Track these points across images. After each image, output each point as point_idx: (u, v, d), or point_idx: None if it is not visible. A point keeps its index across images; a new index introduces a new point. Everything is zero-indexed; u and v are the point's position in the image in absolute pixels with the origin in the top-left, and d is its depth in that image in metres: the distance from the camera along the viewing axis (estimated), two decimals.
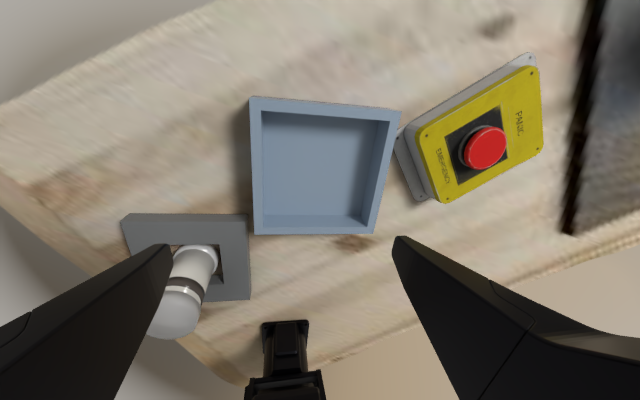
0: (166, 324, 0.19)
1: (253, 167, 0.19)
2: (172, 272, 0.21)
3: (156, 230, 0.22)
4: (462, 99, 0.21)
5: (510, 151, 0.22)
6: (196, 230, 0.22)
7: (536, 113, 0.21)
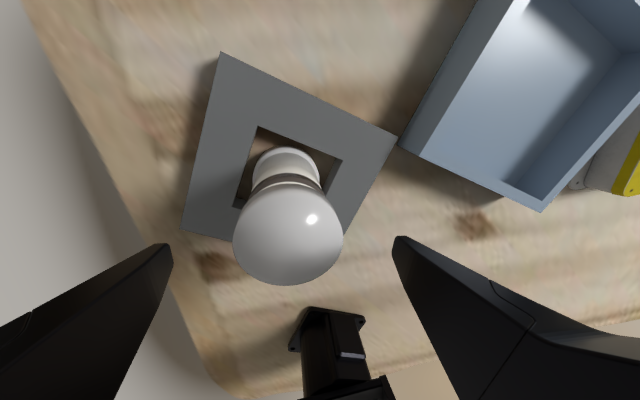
0: (285, 250, 0.09)
1: (495, 35, 0.11)
2: (288, 169, 0.12)
3: (269, 96, 0.13)
4: None
5: None
6: (326, 122, 0.14)
7: None
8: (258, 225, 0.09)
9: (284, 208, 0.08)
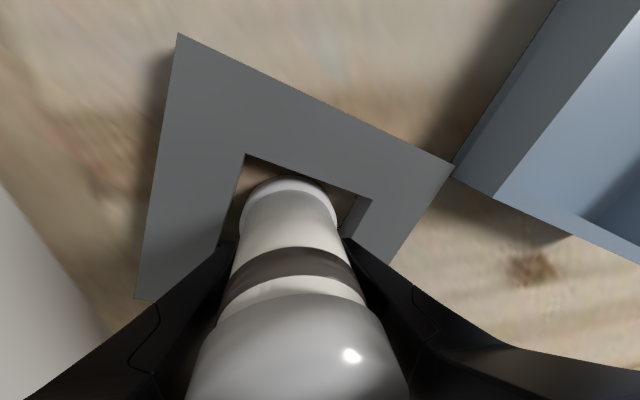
0: None
1: None
2: (295, 233, 0.07)
3: (263, 107, 0.08)
4: None
5: None
6: (352, 147, 0.09)
7: None
8: None
9: (289, 378, 0.04)
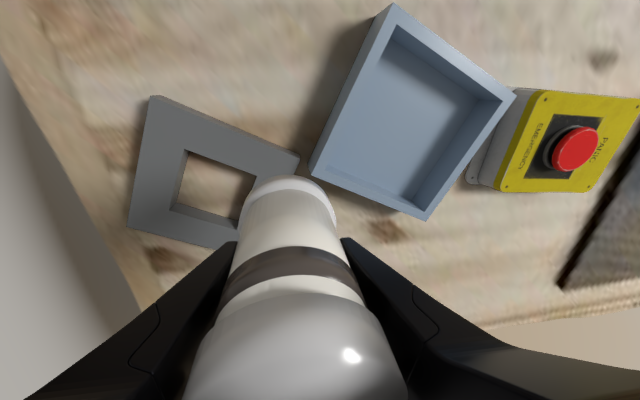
0: None
1: (353, 90, 0.16)
2: (294, 232, 0.07)
3: (191, 127, 0.17)
4: None
5: (574, 173, 0.22)
6: (239, 147, 0.18)
7: (611, 150, 0.22)
8: None
9: (287, 378, 0.04)
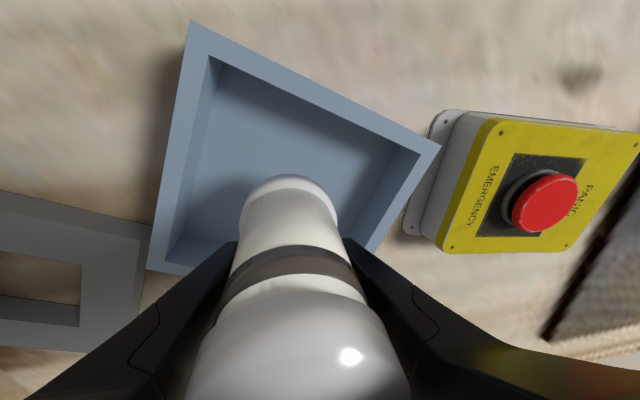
0: None
1: (169, 156, 0.10)
2: (295, 231, 0.07)
3: None
4: (552, 123, 0.14)
5: (547, 230, 0.16)
6: (38, 233, 0.12)
7: (598, 201, 0.16)
8: None
9: (290, 377, 0.04)
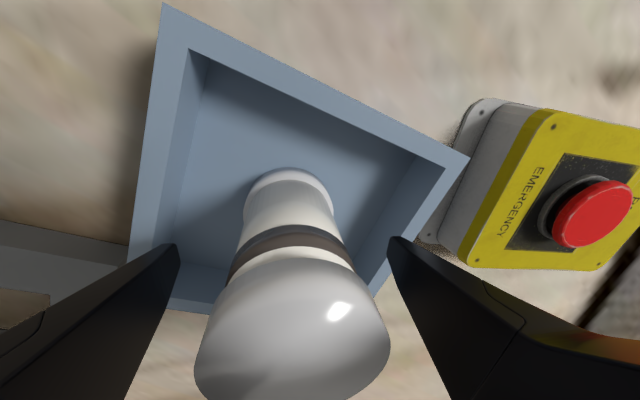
0: (290, 375, 0.05)
1: (143, 173, 0.08)
2: (294, 214, 0.08)
3: None
4: None
5: None
6: None
7: None
8: (240, 347, 0.05)
9: (289, 320, 0.04)
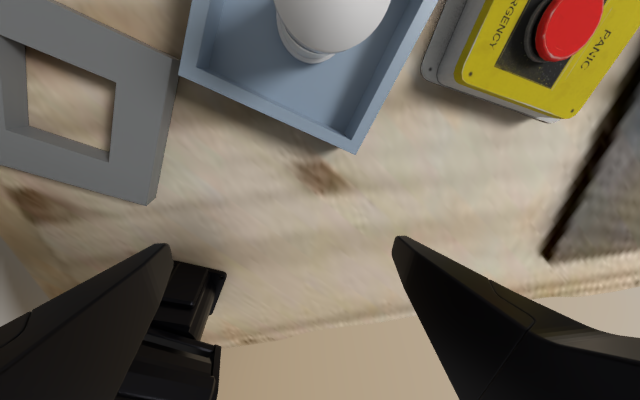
0: None
1: None
2: None
3: None
4: None
5: (559, 81, 0.17)
6: (79, 35, 0.13)
7: (611, 56, 0.16)
8: None
9: None
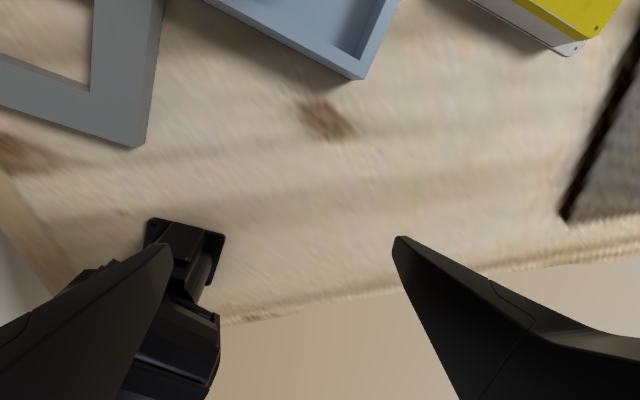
0: None
1: None
2: None
3: None
4: None
5: None
6: None
7: None
8: None
9: None
